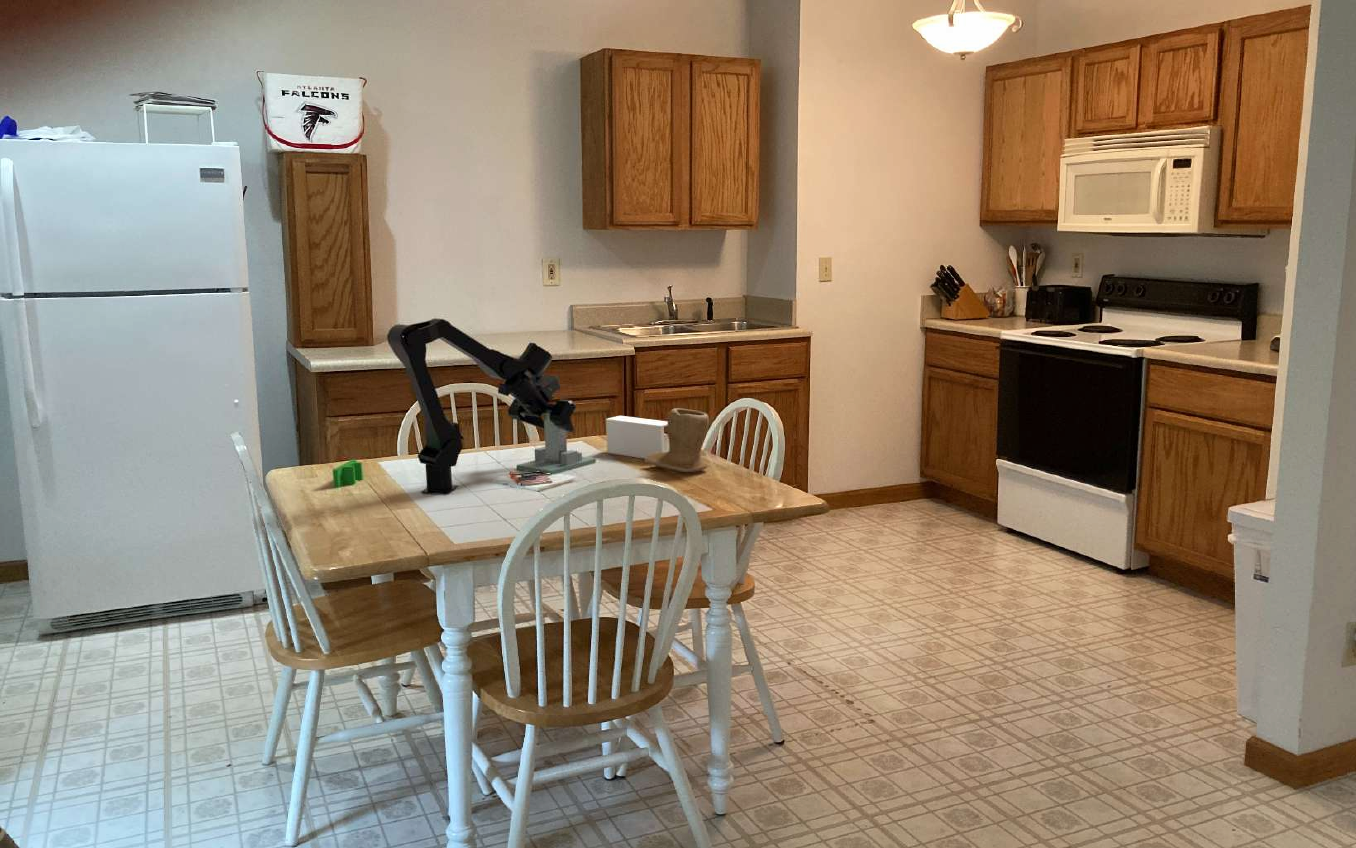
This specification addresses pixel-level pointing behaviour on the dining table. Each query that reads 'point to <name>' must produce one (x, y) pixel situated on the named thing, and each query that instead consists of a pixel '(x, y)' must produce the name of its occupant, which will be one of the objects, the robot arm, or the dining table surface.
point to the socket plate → (567, 463)
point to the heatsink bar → (554, 441)
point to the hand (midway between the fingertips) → (558, 429)
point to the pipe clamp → (347, 473)
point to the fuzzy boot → (683, 441)
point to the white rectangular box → (635, 436)
